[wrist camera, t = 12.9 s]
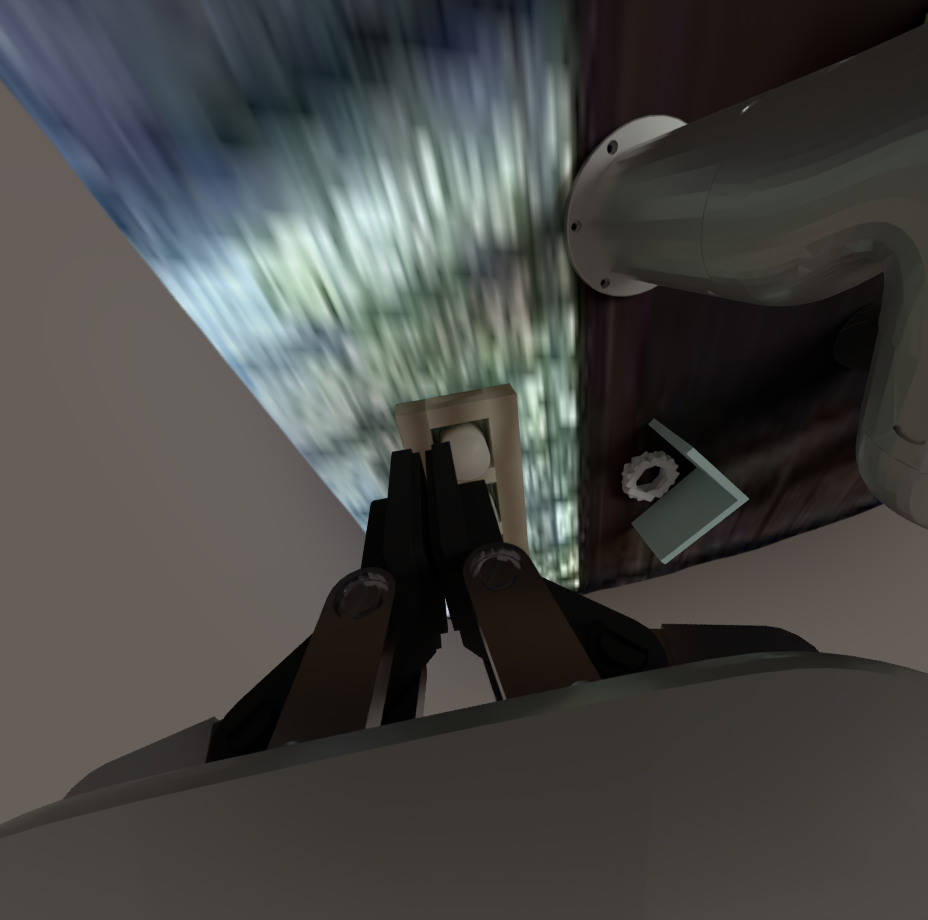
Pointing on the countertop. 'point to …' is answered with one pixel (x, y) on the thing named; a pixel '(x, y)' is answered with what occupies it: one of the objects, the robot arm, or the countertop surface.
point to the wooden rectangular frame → (502, 439)
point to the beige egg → (467, 449)
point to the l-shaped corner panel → (678, 497)
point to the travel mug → (858, 339)
